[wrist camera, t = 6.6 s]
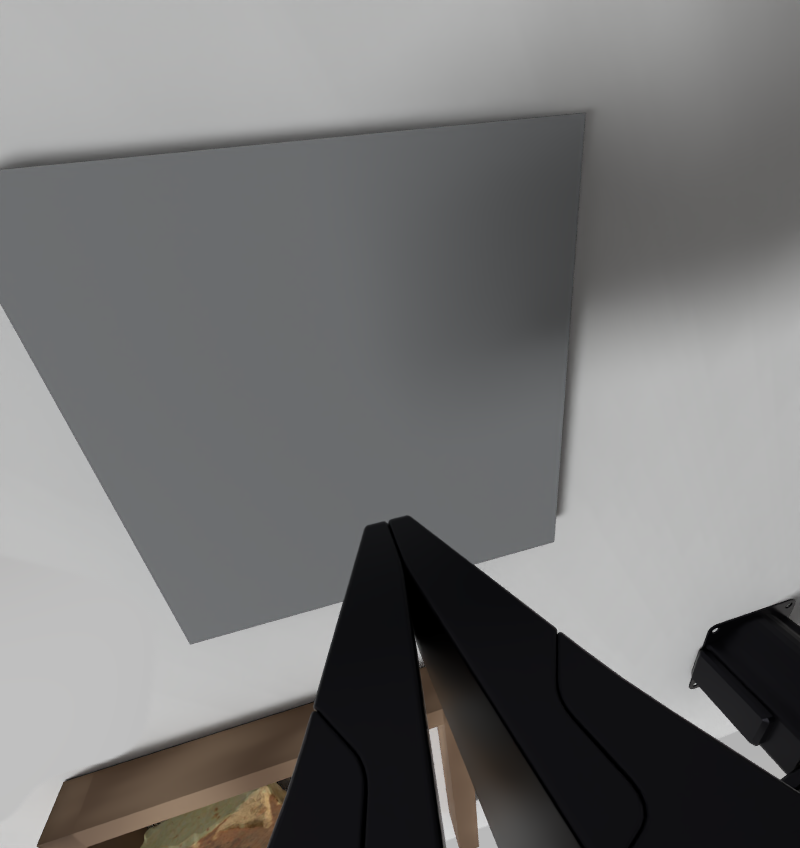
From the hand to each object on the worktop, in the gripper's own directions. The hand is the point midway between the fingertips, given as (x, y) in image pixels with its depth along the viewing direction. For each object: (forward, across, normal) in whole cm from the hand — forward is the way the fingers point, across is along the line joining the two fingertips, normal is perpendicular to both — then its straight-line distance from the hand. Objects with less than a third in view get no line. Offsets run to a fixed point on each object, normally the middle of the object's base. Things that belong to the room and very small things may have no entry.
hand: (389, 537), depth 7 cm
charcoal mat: (+6, 0, 0) cm, 6 cm away
